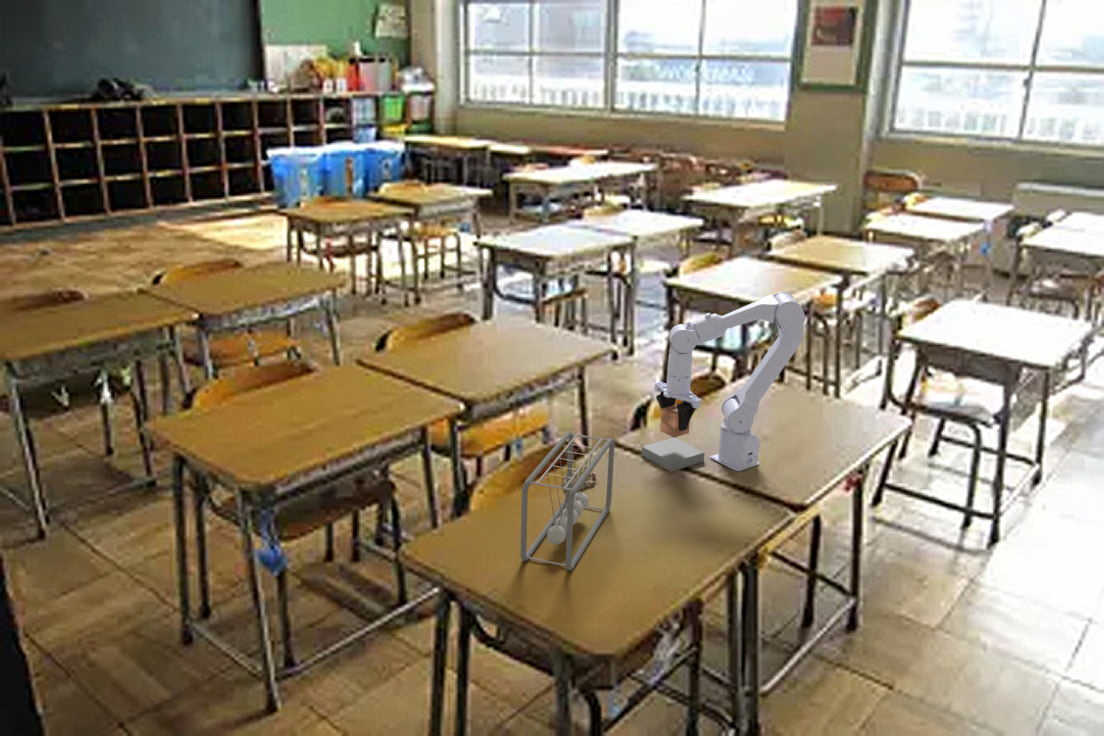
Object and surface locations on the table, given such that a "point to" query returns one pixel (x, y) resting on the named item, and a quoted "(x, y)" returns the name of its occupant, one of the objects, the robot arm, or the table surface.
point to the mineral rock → (589, 480)
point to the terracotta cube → (671, 422)
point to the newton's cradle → (567, 500)
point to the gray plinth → (673, 454)
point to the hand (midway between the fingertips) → (675, 425)
